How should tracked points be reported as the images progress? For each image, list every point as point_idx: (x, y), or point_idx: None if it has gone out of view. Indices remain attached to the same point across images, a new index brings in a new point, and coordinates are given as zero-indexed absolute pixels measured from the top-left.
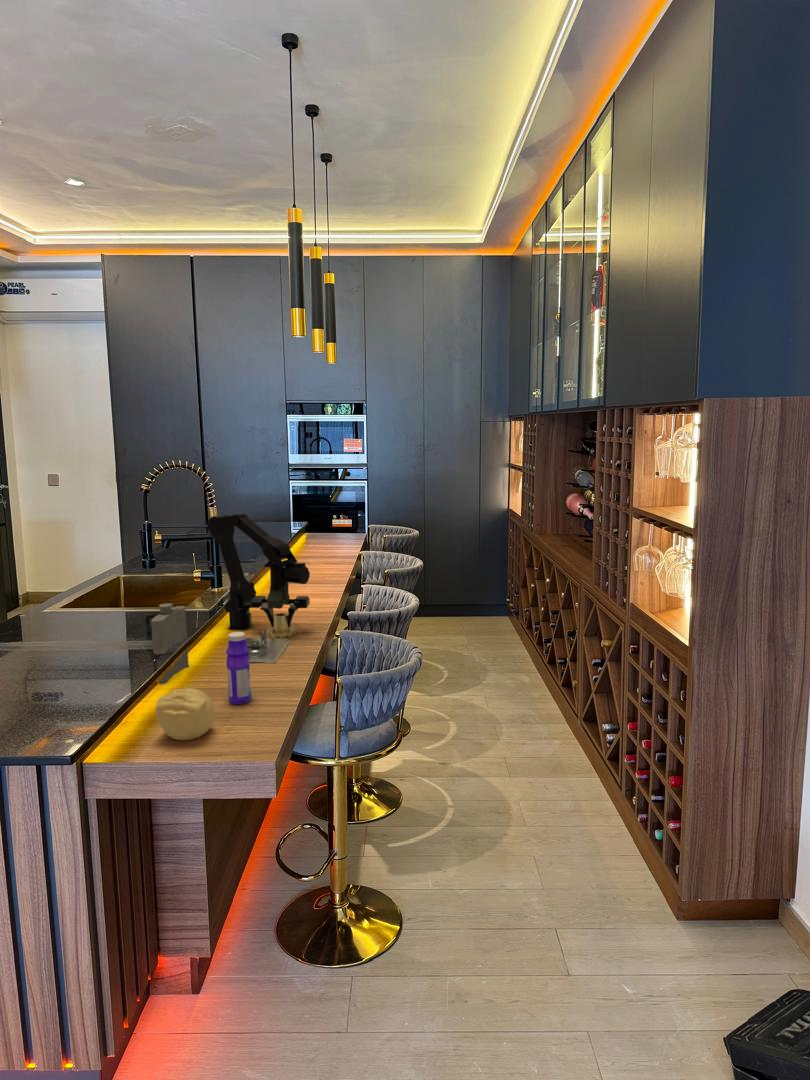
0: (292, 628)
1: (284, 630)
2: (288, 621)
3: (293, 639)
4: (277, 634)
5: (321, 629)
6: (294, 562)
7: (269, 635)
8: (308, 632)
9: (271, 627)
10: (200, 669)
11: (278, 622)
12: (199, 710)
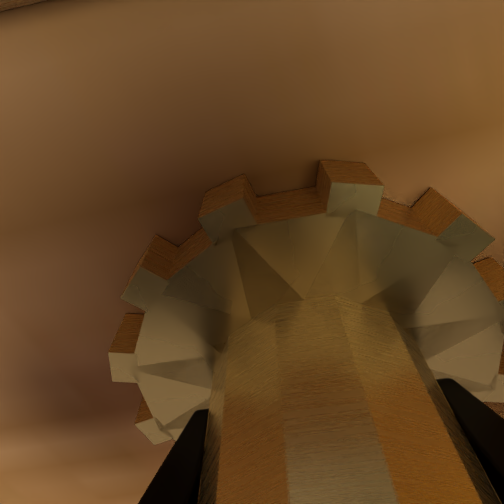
0: None
1: (237, 335)
2: (178, 492)
3: (40, 174)
4: (296, 209)
5: (3, 491)
6: None
7: (426, 210)
8: (53, 418)
9: None
10: None
11: (337, 419)
12: None
